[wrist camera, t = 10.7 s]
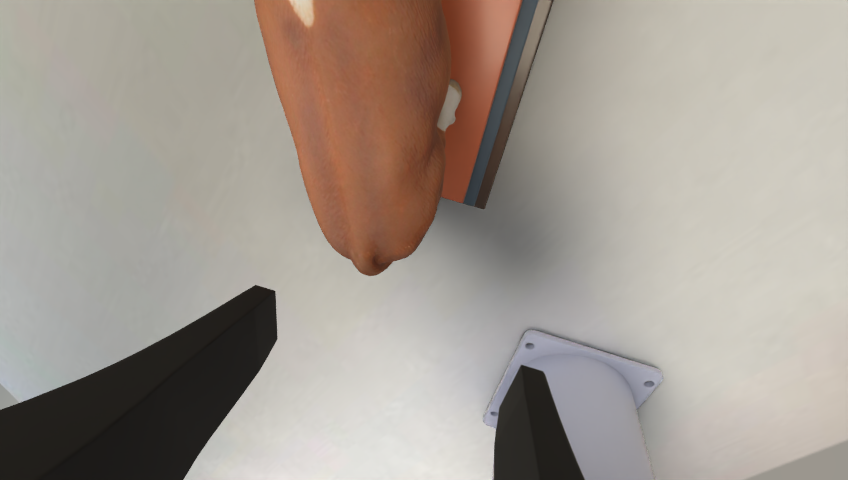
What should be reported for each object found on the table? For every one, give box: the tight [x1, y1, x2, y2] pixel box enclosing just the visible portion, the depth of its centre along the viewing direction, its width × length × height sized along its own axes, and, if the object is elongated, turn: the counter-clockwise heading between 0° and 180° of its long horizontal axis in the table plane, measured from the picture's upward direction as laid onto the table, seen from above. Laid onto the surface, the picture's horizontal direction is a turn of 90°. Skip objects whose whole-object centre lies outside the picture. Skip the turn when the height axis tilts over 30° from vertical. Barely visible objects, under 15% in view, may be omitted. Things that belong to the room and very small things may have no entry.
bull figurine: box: [254, 0, 462, 276], centre depth 10 cm, size 4×13×8 cm, turn 179°
